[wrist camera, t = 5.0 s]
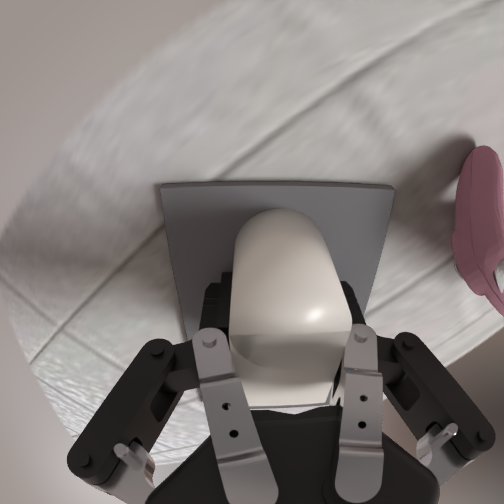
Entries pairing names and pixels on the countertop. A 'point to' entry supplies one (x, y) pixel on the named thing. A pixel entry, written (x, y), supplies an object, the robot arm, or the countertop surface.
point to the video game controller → (480, 226)
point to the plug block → (286, 311)
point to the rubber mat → (262, 199)
